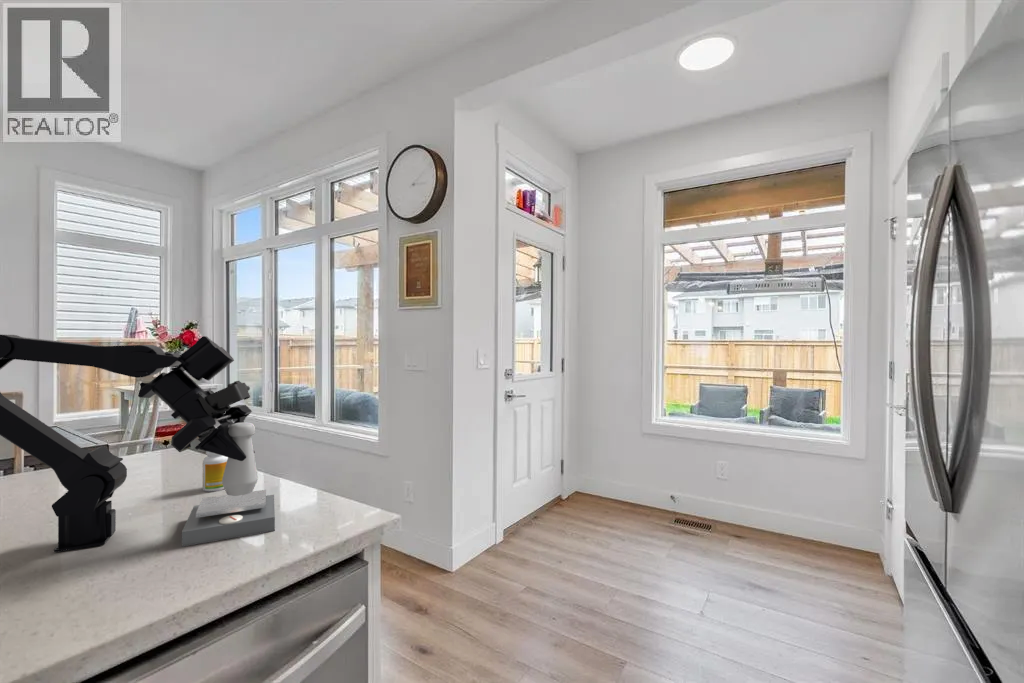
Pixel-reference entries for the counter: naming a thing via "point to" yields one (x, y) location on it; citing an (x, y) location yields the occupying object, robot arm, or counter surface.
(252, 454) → the salt shaker
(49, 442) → the robot arm
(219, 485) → the supplement bottle
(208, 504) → the scale pan
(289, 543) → the counter surface
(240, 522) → the scale
